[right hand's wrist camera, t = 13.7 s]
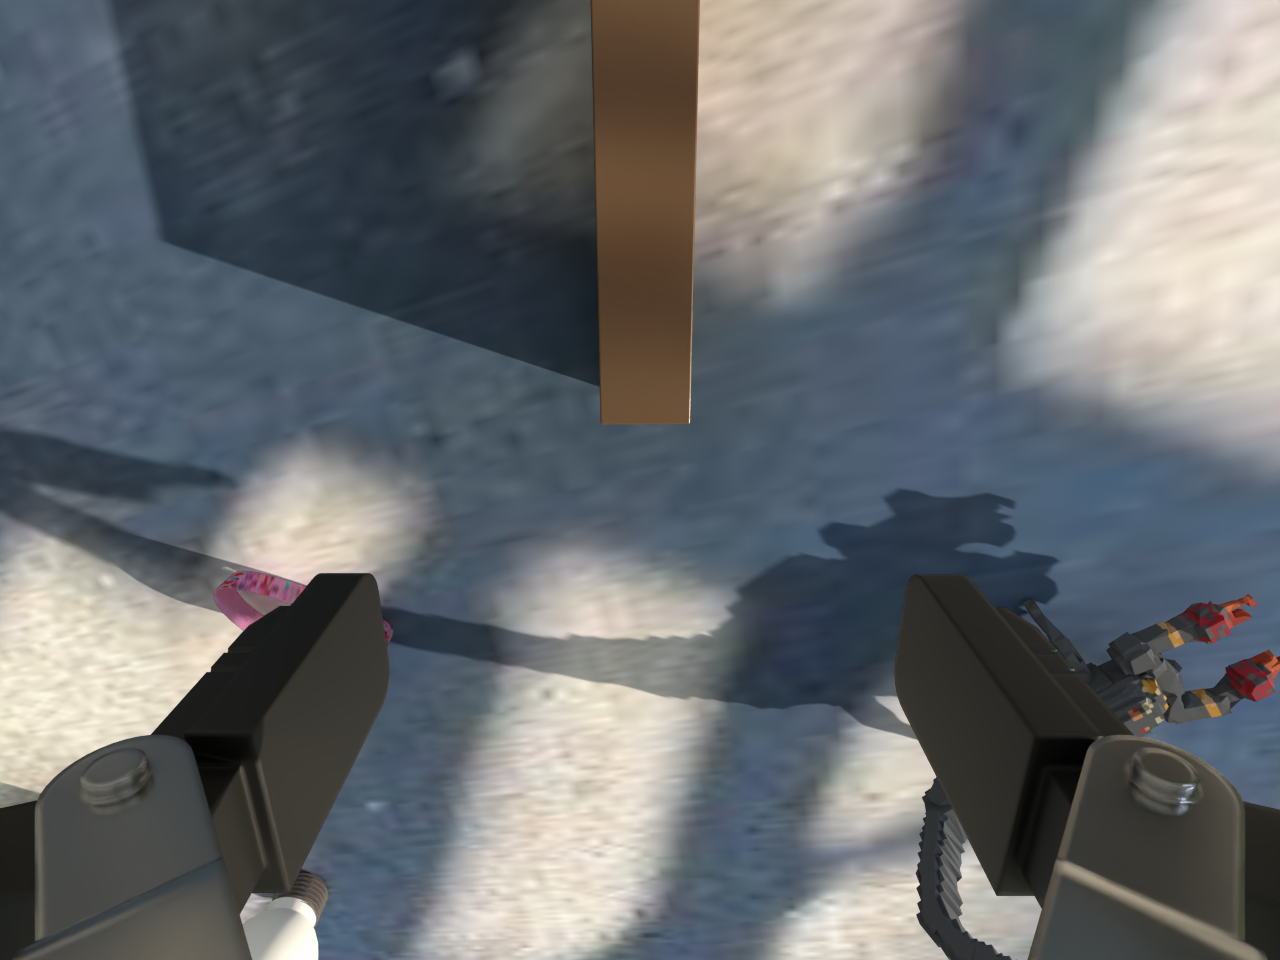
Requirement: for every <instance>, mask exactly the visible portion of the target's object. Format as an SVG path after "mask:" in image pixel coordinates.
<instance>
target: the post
mask: <svg viewBox="0 0 1280 960" xmlns="http://www.w3.org/2000/svg"><path fill="white" fill-rule="evenodd" d="M699 15H700V0H591V34H592V77H593V120H594V163H595V206H596V249H597V292H598V335H599V378H600V421H601V424H690V405H691V362H692V319H693V275H694V232H695V188H696V145H697V102H698V58H699Z"/></svg>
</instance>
